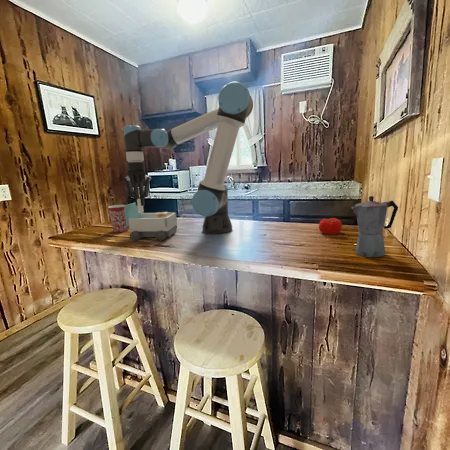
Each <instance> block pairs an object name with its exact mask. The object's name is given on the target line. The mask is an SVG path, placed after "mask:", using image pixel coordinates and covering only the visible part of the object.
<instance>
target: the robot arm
mask: <svg viewBox="0 0 450 450" xmlns="http://www.w3.org/2000/svg"><path fill="white" fill-rule="evenodd" d="M217 101H218V108H215V109H213V110H211V111H208V112H206V113H204V114H201V115H200V116H198V117H196V118H193V119H191V120H188V121H187V122H185V123H182V124H179V125H178V126H175V127H173V128H171V129H168V130H167V131H166V129H165V128H152V129H142V128H141V126H139V125H137V124H136V125H130V124H129V125H125V126H123V140H124V147H125V157H126V161H127V163H126V164H127V165H126V167H127V171H128V172H127V175H126V176H125V177H123V178H122V179H123V181H124V182H125V184H126V188H127V190H128V193H129V195H130V198H132V199H134V203H135V202H136V206H138V213H145V212H144V206H145V205H146V203H145V198H148V196H149V190H150V182H151V180H152V176H149V175H147V172H146V167H145V158H144V157H145V156H144V149H145V148H146V149H147V148H148V149H149V148H157V149H162V150H163V149H164V150H173V149H175V148H176V147H177V146H178V145H180V144H182V143H184V142H187V141H190V140H192V139H194V138H196V137H199V136H201V135H203V134H206V133H209V132H210V131H213V130H215V129H216V132H215V135H214V140H213V144H212V147H211V151H210V155H209V159H208V162H207V167H206V170H205V173H204V177H203V179H202V180H200V181H199V183H198V188H197V191H195V193H194V194H193V196H192V197H191V198H192V199H191V204H192V205H191V206H192V209H193V210H194V211H195V212H196V213H197V214H198V215H199V216H201V217H204V220H203V223H202V225H201V227H202V232H203V233H206V234H212V235H213V234H225V233H229V232H232V231H233V224H232V221H231V218H230V216H229V198H228V197H229V196H228V194H229V193H228V192H229V191H228V186H227V184H225V183H224V182H225V179H226V176H227V172H228V169H229V165H230V161H231V159H232V154H233V151H234V148H235V144H236V141H237V139H238V138H237V137H238V134H239V130H240V128H241V127H243V126H245V122H246V120H247V118H248V117H249V116H250V115H251V114H252V112H253V109H254V101H253V97H252V96H251V94H250V91H249V89H248V88H247V86H245V85H244V84H243V83H241V82H238V81H231V82H228V83H226V84H225V85H223V86H222V88H221V89H220V91H219V92H218V97H217Z"/></svg>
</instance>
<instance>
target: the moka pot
mask: <svg viewBox="0 0 450 450" xmlns="http://www.w3.org/2000/svg"><path fill="white" fill-rule="evenodd" d="M374 198H375V196H373V195H370V196H368V201H365V202H358V203H355V205H352V206H351V209H352V210H353V212H354V214H355V216H356V220H357V221H356V222H357V227H358V234H357V240H356V245H355V254H357V255H358V256H361V257H366V258H380V257H383V256H385V255H386V247H385V241H384V240H385V239H384V233H383V231H384V229H390V228H392V227H393V226H392V225H393V224H394V221H395V217H396V215H397V212H398V211H399V206H398V205H397V204H396V203H395V201H394V200H389V201H383V202H380V201H374ZM390 207H392V208H393V210H392V212H391V216H390V220H389V223H388V224H387V225H385V222H386V218H387V212H388V208H390Z"/></svg>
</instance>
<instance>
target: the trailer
mask: <svg viewBox="0 0 450 450" xmlns="http://www.w3.org/2000/svg"><path fill="white" fill-rule="evenodd" d="M156 213H157V212H143V213H141V218H129V219H128V220H129V228H128V229H129V232H130V233H129V238H130V240H131V241H133V242H137V241H140V240H141V238H146V237H147V238H155V240H157V241H158V242H163V241H164V240H165V239H166V238H170V237H171V236H172V235H173V234H174V233H176V232H177V229H178V221H177V212H168V216H167V217H166V218H156Z"/></svg>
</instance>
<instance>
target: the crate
mask: <svg viewBox="0 0 450 450" xmlns="http://www.w3.org/2000/svg"><path fill="white" fill-rule="evenodd" d="M155 213H156V218H166V217H167V216H168V213H169V211H161V212H160V211H158V212H155Z"/></svg>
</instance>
